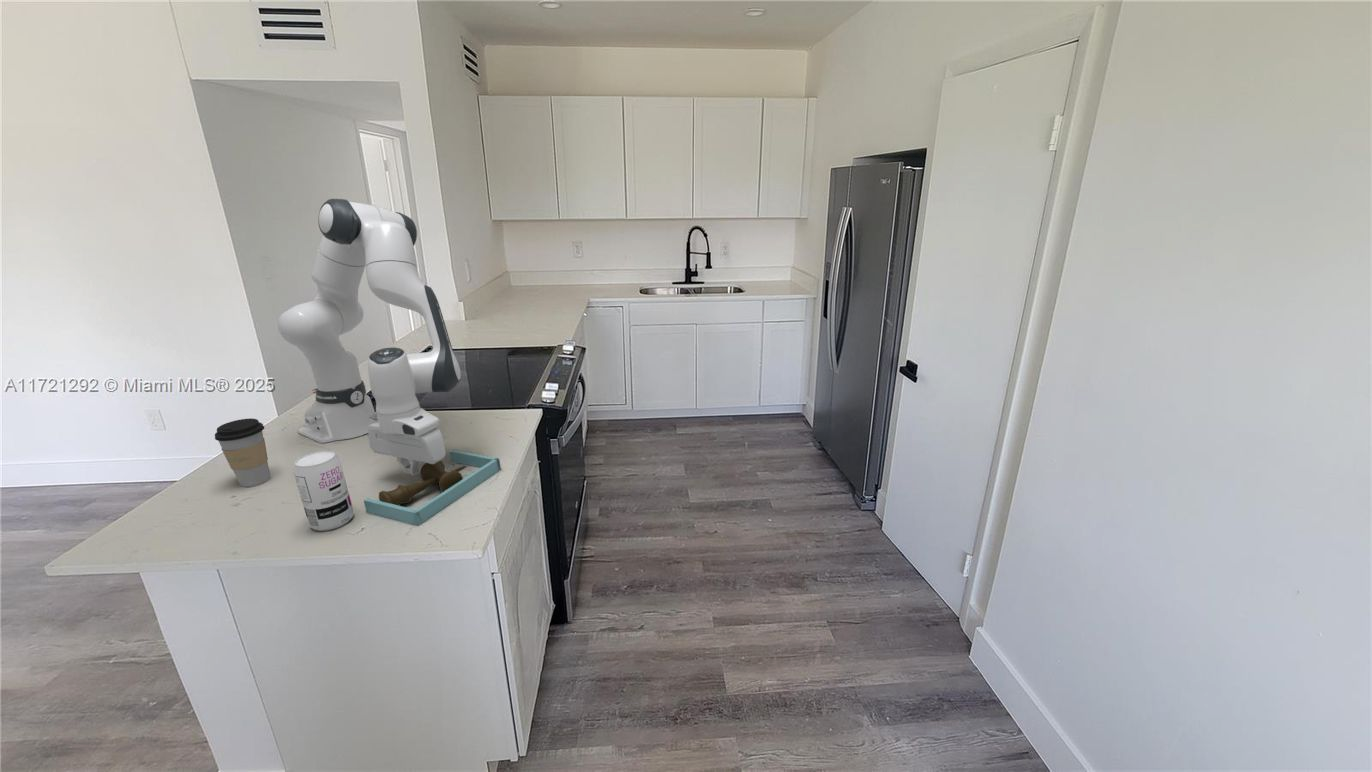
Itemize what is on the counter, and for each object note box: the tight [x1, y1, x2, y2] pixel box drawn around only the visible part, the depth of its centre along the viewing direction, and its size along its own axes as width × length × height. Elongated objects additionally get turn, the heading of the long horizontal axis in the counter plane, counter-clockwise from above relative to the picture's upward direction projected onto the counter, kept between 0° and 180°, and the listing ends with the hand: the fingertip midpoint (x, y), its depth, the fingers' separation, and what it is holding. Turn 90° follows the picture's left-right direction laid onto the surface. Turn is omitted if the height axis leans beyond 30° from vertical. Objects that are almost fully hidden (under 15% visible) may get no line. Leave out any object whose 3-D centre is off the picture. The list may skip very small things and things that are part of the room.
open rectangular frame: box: [363, 449, 502, 526], centre depth 129 cm, size 15×26×3 cm, turn 158°
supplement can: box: [292, 450, 355, 532], centre depth 115 cm, size 8×8×15 cm
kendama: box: [378, 460, 468, 506], centre depth 127 cm, size 6×10×20 cm
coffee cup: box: [214, 418, 271, 488], centre depth 133 cm, size 9×9×15 cm
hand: (411, 473), depth 131 cm, fingers closed
